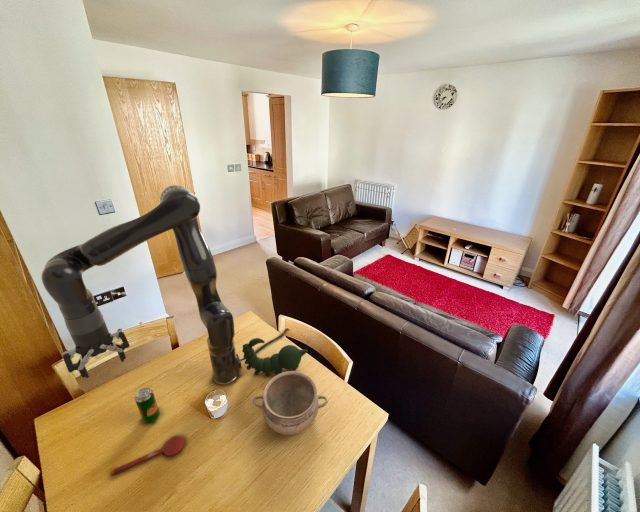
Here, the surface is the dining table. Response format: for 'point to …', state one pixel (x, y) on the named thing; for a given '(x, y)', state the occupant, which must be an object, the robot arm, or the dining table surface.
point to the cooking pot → (290, 402)
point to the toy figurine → (272, 358)
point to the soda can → (147, 405)
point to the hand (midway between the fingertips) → (105, 367)
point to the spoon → (156, 453)
